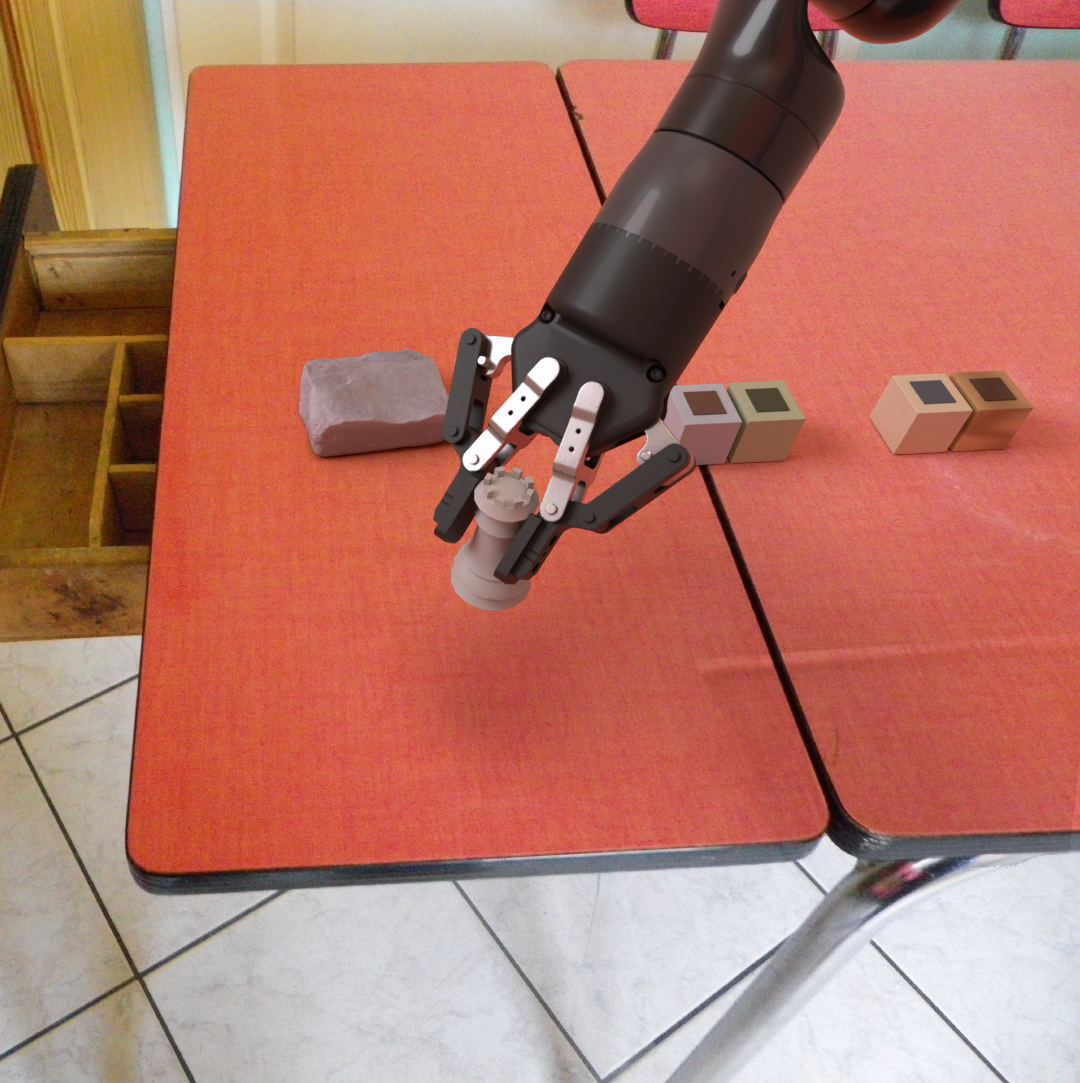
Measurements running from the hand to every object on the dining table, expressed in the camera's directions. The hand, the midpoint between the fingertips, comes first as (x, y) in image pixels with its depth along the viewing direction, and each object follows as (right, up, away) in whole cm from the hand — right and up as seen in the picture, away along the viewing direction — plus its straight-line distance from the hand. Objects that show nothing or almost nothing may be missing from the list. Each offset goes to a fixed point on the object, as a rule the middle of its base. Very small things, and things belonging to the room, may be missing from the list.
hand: (475, 558), depth 51 cm
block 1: (+21, +9, +29) cm, 36 cm away
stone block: (-5, +11, +30) cm, 33 cm away
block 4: (+44, +10, +31) cm, 54 cm away
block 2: (+26, +9, +29) cm, 40 cm away
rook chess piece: (+1, -2, +4) cm, 5 cm away
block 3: (+39, +10, +30) cm, 50 cm away
